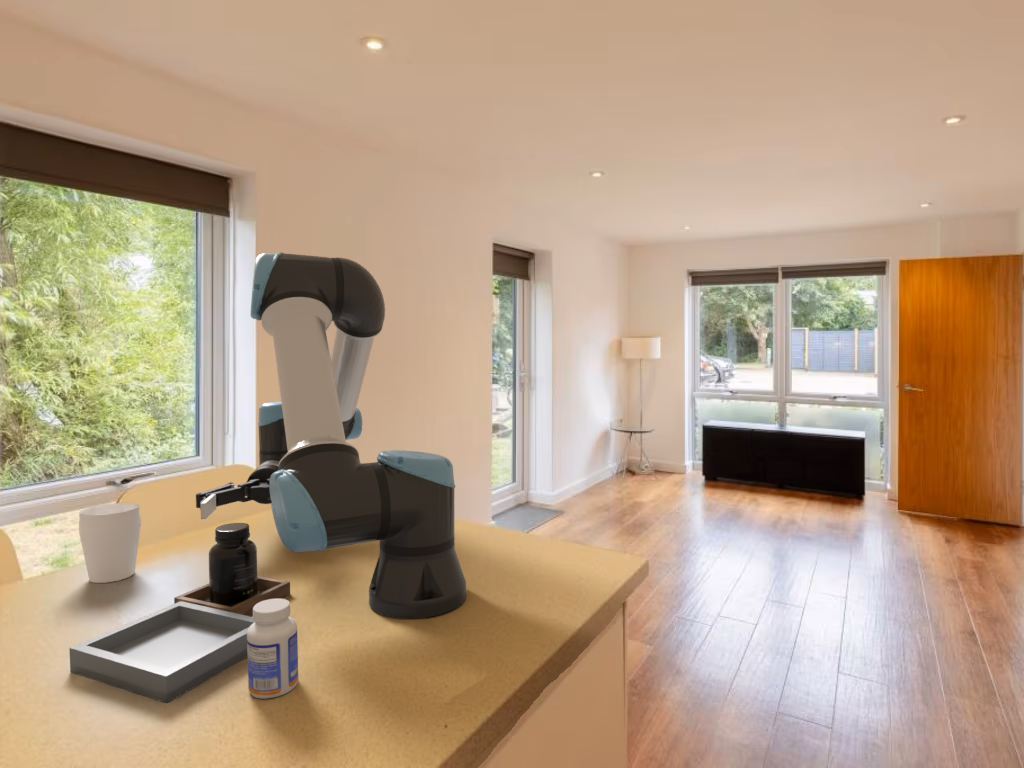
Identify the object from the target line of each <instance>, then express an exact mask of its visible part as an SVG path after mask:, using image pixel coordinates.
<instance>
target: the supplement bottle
mask: <svg viewBox="0 0 1024 768" xmlns="http://www.w3.org/2000/svg"><path fill="white" fill-rule="evenodd" d="M214 531H215V533H214V535H215V537H214V541H215V542H216V543H215V544H214V545H213V546H211V548H210V549H209V551H208V581H209V583H208V584H209V588H210V598H209V602H210V603H215V604H219V605H224V606H229V607H232V606H234V605H236V604H239V603H241V602H243V601H245V600H247V599H249V598H251V597H254V596H256V595H258V594H259V590H258V583H257V576H258V554H257V553H258V550H257V549H258V548H257V545H256V543H255V542H254V541H252V540H251V539H249V538H250V537H251V533H250V525H249V524H248V523H246V522H230V523H225V524H221V525H219V526H217V527H216V528H215V530H214Z"/></svg>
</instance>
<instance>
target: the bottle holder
mask: <svg viewBox="0 0 1024 768" xmlns="http://www.w3.org/2000/svg"><path fill="white" fill-rule="evenodd" d="M257 583H258V592H259V591H260V593H258V595H256V596H254V597H251V598H249V599H247V600H245V601H243V602H241V603H239V604H236V605H234V606H232V607H229V606H224V605H219V604H215V603H210V601H206V600H208V599H210V588H209V583H207V584H205V585H202V586H200V587H197V588H194V589H192V590H190V591H187V592H185V593H183V594H180V595H177V596H175V597H174V599H173V601H174V603H173V604H175V603H178V602H180V601H182V602H187V603H191V604H196V605H201V606H205V607H210V608H214V609H219V610H223V611H228V612H232V613H237V614H241V615H246V616H250V615H251V614H253V607H254V606H255V605H256V604H257V603H259V602H261V601H264V600H269V599H278V598H279V599H284V598H285V597H287V596H289V595H291V581H287V580H281V579H276V578H270V577H266V576H259V575H257Z"/></svg>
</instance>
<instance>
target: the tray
mask: <svg viewBox="0 0 1024 768" xmlns="http://www.w3.org/2000/svg"><path fill="white" fill-rule="evenodd" d="M252 617H253V616H250V615H247V616H246V615H241V614H237V613H232V612H228V611H223V610H219V609H214V608H210V607H205V606H201V605H196V604H191V603H187V602H182V601H180V602H178V603H175V604H174V603H173V604H171V605H169V606H166V607H164V608H161V609H158V610H157V611H154V612H151V613H149V614H148V615H145V616H142V617H140V618H137V619H135V620H132V621H131V622H127V623H125V624H123V625H120V626H118V627H116V628H114V629H111V630H108V631H107V632H104V633H102V634H99V635H96V636H94V637H92V638H89V639H88V640H84V641H82V642H80V643H78V644H75V645H73V646H71V647H69V648H68V649H69V669H70V671H69V672H70V673H71V674H72V673H73V674H75V675H78V676H81V677H85V678H88V679H91V680H94V681H98V682H101V683H104V684H107V685H110V686H113V687H116V688H120V689H123V690H126V691H128V692H132V693H136V694H138V695H141V696H144V697H147V698H150V699H153V698H154V700H156V701H159V700H160V702H163V703H166V704H168V703H170V702H172V701H173V700H174V699H176V698H178V697H180V696H182V695H183V694H185V693H187V692H189V691H191V690H192V689H193V687H194V688H196V687H197V686H199V685H200V683H201V684H202V683H204V682H206V681H207V680H210V679H211V678H213V677H214V676H216V675H218V674H220V673H221V672H224V671H225V670H227V669H228V668H230V667H232V666H233V665H235V664H237V663H238V661H239V662H240V661H243V659H245V658H248V656H247V631H248V629H249V627H250V626H251V625H252V624H253V623H254V621H253V618H252ZM236 662H237V663H236ZM231 665H232V666H231ZM188 690H189V691H188ZM186 691H187V692H186Z"/></svg>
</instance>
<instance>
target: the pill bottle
mask: <svg viewBox="0 0 1024 768" xmlns="http://www.w3.org/2000/svg"><path fill="white" fill-rule="evenodd" d="M291 612H292V611H291V603H290V601H289V600H287V599H285V598H281V599H279V598H278V599H269V600H264V601H261V602H259V603H257V604H256V605H255V606H254V607H253V613H252V616H251V617H252V618H253V621H254V623H253V624H252V625H251V626H250V627H249V629H248V631H247V677H248V678H247V684H248V692H249V693H250V695H251V697H253V698H257V699H259V700H260V699H261V700H262V699H263V700H264V699H265V700H267V699H268V700H269V699H273V698H277V697H280V696H283V695H285V694H288V693H289V692H291V691H292V690H294V689H295V688H296V686H297V685H298V682H299V648H298V647H299V644H298V625H297V621H296V620H295V619H294V618H293V617H292V616H290V615H291Z"/></svg>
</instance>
